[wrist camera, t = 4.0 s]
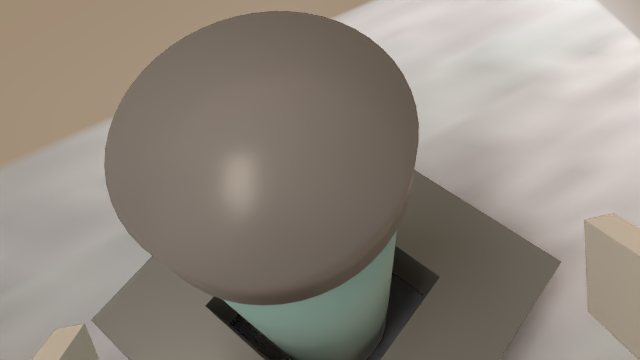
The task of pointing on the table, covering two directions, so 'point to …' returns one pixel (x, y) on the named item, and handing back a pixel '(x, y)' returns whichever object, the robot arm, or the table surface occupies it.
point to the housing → (409, 264)
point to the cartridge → (272, 174)
